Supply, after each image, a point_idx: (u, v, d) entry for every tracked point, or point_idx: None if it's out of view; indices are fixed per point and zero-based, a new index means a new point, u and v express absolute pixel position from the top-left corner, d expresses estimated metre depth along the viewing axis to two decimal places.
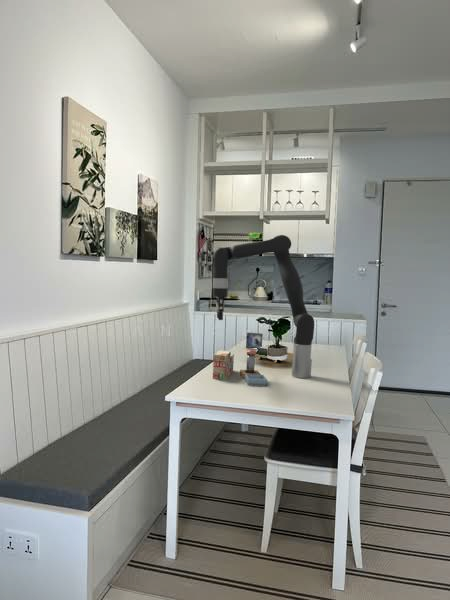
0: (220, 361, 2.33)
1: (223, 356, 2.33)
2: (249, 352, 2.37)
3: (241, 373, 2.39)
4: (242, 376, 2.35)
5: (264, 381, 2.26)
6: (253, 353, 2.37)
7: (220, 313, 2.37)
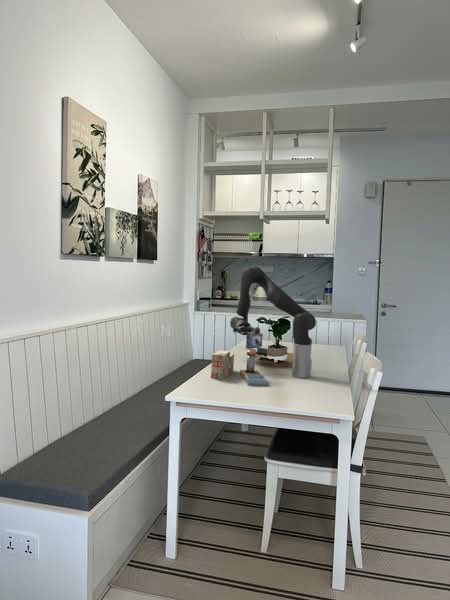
0: (218, 361, 2.34)
1: (221, 356, 2.33)
2: (249, 352, 2.37)
3: (241, 373, 2.39)
4: (242, 376, 2.35)
5: (264, 381, 2.26)
6: (253, 353, 2.37)
7: (237, 330, 2.52)
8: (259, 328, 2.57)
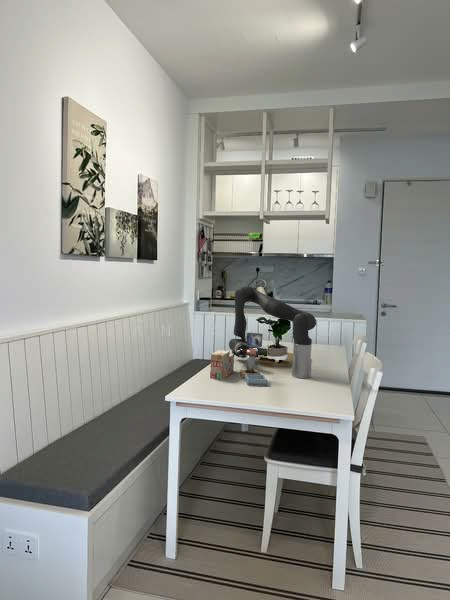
0: (217, 360, 2.34)
1: (220, 356, 2.33)
2: (249, 352, 2.37)
3: (241, 373, 2.39)
4: (242, 376, 2.35)
5: (264, 381, 2.26)
6: (253, 353, 2.37)
7: (235, 354, 2.53)
8: (257, 351, 2.58)
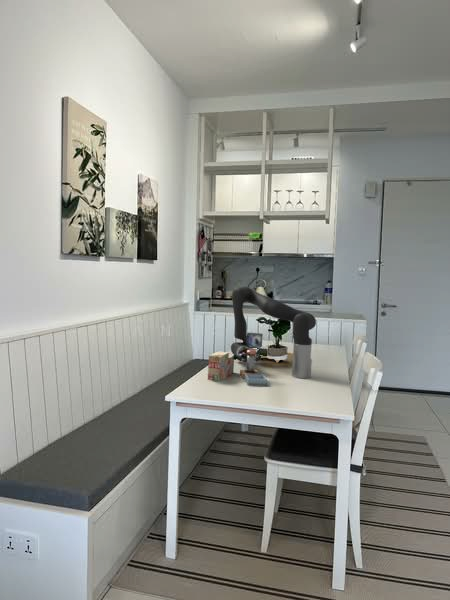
0: (214, 362, 2.30)
1: (218, 357, 2.30)
2: (249, 352, 2.37)
3: (241, 373, 2.39)
4: (242, 376, 2.35)
5: (264, 381, 2.26)
6: (253, 353, 2.37)
7: (237, 358, 2.47)
8: None
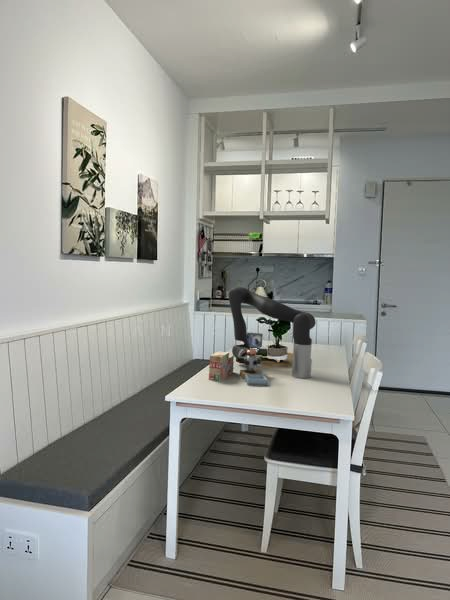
0: (216, 362, 2.30)
1: (219, 357, 2.30)
2: (249, 352, 2.37)
3: (241, 373, 2.39)
4: (242, 376, 2.35)
5: (264, 381, 2.26)
6: (253, 353, 2.37)
7: (244, 362, 2.40)
8: (260, 358, 2.43)
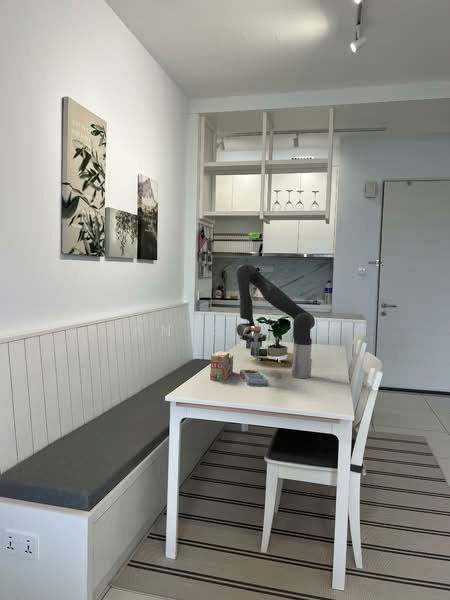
0: (217, 362, 2.30)
1: (220, 357, 2.30)
2: (254, 328, 2.30)
3: (241, 373, 2.39)
4: (242, 376, 2.35)
5: (264, 381, 2.26)
6: (258, 329, 2.30)
7: (248, 338, 2.32)
8: (265, 335, 2.36)
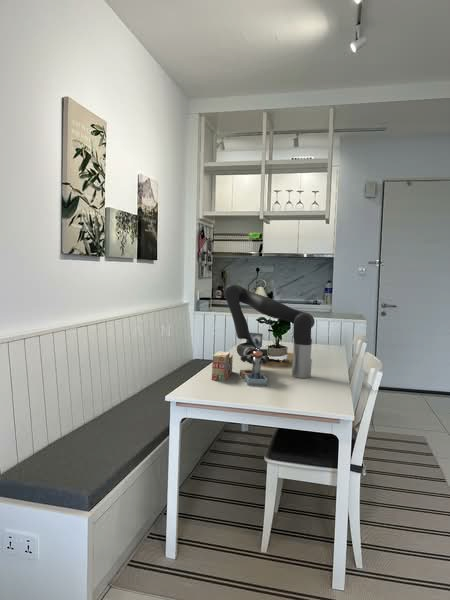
0: (219, 362, 2.31)
1: (222, 357, 2.30)
2: (255, 353, 2.28)
3: (241, 373, 2.39)
4: (242, 376, 2.35)
5: (264, 381, 2.26)
6: (260, 355, 2.28)
7: (247, 360, 2.30)
8: None
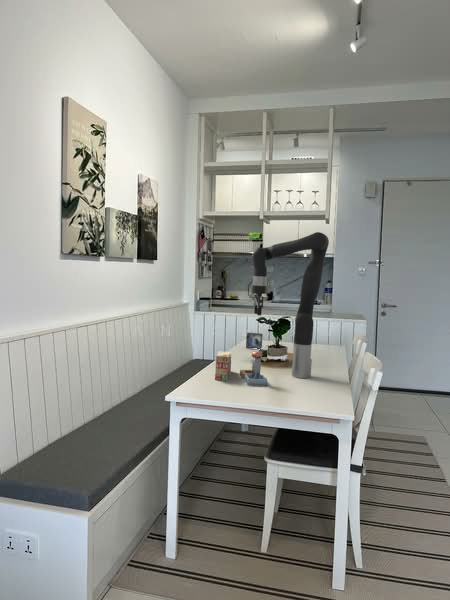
0: (222, 362, 2.31)
1: (226, 357, 2.31)
2: (255, 354, 2.27)
3: (241, 373, 2.39)
4: (242, 376, 2.35)
5: (264, 381, 2.26)
6: (259, 355, 2.27)
7: (259, 309, 2.53)
8: None
